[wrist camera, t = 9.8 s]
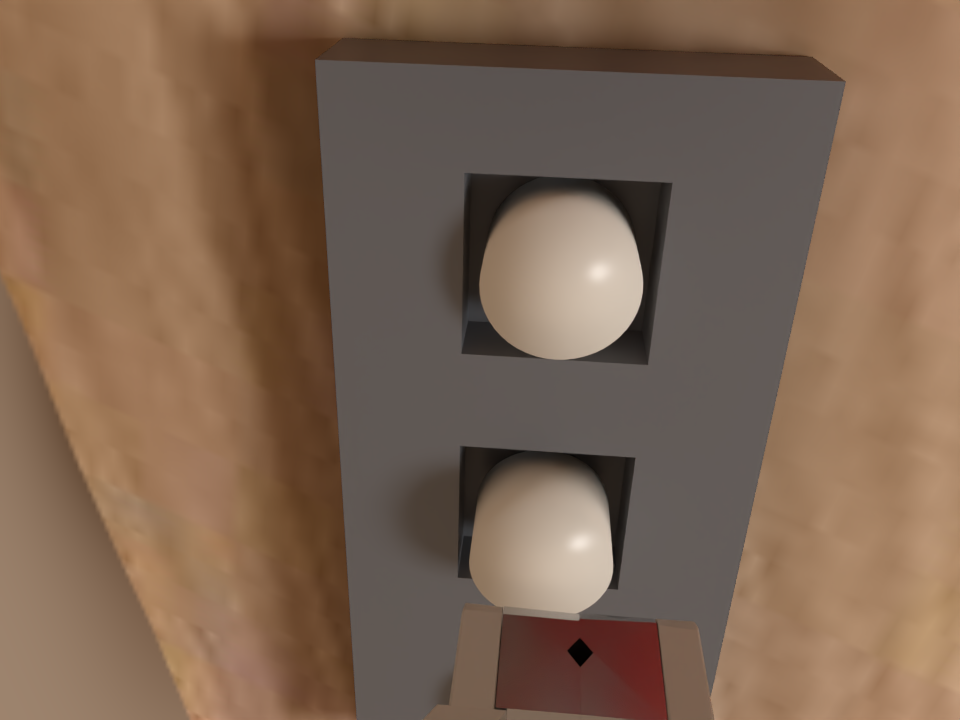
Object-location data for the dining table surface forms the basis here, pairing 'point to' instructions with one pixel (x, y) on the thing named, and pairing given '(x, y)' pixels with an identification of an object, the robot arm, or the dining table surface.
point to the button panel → (547, 382)
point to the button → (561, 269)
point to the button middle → (542, 534)
